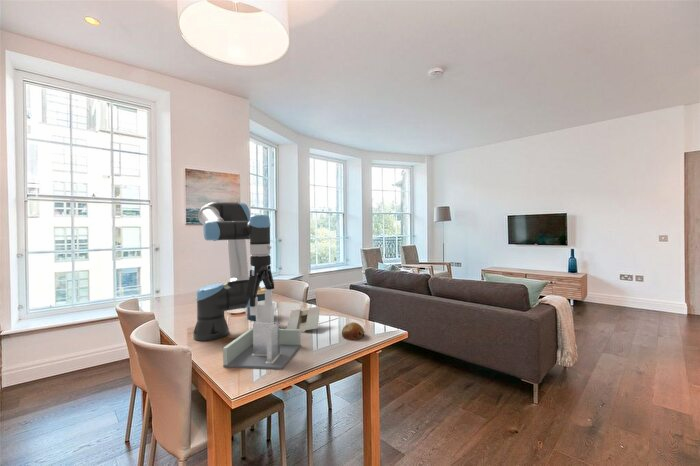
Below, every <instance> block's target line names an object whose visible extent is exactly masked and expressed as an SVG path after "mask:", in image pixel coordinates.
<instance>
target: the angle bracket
mask: <svg viewBox="0 0 700 466" xmlns="http://www.w3.org/2000/svg"><path fill="white" fill-rule="evenodd" d="M252 328H253V355H267V362H270V363H272V362H273V361H274V360H275V359H276V357H277V356H278V355H279V354H280V335H279V329H280V322H274V323H271V322H256V321H254V322H252Z"/></svg>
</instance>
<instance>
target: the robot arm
mask: <svg viewBox="0 0 700 466" xmlns="http://www.w3.org/2000/svg"><path fill="white" fill-rule="evenodd" d="M270 219H271V218H270V216H269V215H267V214H252V215H251V211H250V208H249V206H248V205H247V203H244V202H238V201H237V202H235V201H234V202H229V201H228V202H226V201H224V202H223V201H212V202H209V203H206V204H204V205H202V206H201V207H200V208H199V209H198V211H197V220H198V221H199V223H201V224H202V225H203V238H204V239H205V241H212V242H216V241H227V250H228V262H229V263H228V265H229V277H230V278H229V280H228V281H227V285H226V286H225V285H224V283H222V282H221V283H213V284H208V285H204V286H202V287H200V288H198V289H197V291H196V298H195V300H196V317H197V318H196V319H197V321H196V324H195V327H194V331H193V332H192V334H193V339H194V340H196V341H204V342H205V341H212V340H218V339H221V338H224V337H227V335H228V334H229V333H230V332H229V331H230V330H229V329H230V328H229V325H228V323H227V320H226V318H225V312H227V311H232V310H233V311H234V310H240V309H247V307H250V315H258V298H257V292H258V289H259V286H260V284H261V282H263V286H264V287H265V288H264V289H265V306H272V301H273V290H274V289H275V283H274V278H273V275H272V274H273V273H272V268H271V264H272V263H271V262H272V261H271V259H272V258H271V255H270V254H271V249H272V246H271V222H270ZM246 240H249V255H250V259H249V260H250V266H251V267H253V269H250V270H249V266H248V265H249V263H248V255H247V243H246Z"/></svg>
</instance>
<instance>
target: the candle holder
mask: <svg viewBox="0 0 700 466" xmlns="http://www.w3.org/2000/svg"><path fill="white" fill-rule="evenodd" d="M274 320H275V301H274V300H272V306H265V300H264V301H258V315H256V320H255V322H271V323H275V322H274Z"/></svg>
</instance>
